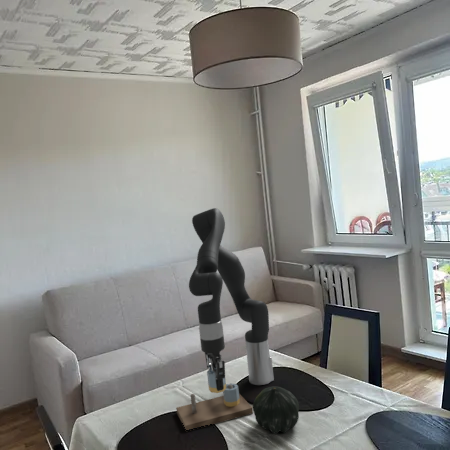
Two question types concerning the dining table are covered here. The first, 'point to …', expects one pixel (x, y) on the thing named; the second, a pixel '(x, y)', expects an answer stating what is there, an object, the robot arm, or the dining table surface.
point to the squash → (276, 409)
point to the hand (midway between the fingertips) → (217, 386)
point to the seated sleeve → (231, 395)
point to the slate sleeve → (214, 382)
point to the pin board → (211, 411)
